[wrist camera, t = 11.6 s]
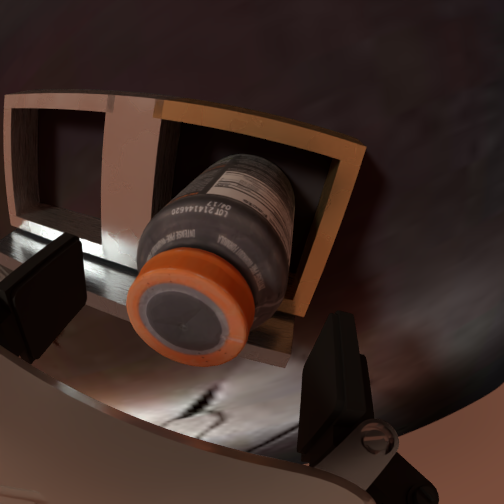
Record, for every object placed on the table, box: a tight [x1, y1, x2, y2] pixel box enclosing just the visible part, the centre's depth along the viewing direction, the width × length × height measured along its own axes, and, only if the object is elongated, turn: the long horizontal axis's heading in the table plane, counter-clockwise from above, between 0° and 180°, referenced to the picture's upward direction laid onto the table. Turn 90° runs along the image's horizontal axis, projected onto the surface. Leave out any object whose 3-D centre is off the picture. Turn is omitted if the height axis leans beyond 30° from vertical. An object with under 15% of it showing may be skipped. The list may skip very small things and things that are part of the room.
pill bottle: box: [126, 154, 295, 367], centre depth 14 cm, size 6×6×11 cm
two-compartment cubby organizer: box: [0, 89, 366, 368], centre depth 17 cm, size 12×24×6 cm, turn 78°
